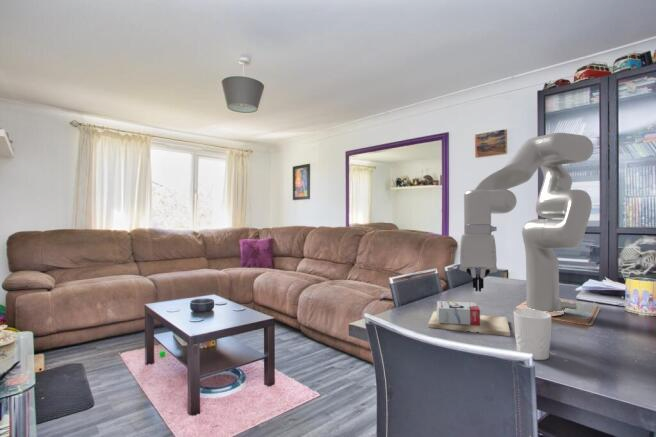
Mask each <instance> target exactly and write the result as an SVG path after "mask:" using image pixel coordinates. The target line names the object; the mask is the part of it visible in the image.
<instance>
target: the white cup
mask: <svg viewBox="0 0 656 437" xmlns="http://www.w3.org/2000/svg"><path fill="white" fill-rule="evenodd" d="M552 317H553V316H551V315H550V314H549V313H546V312H543V311H539V310H532V309H521V308H520V309H519V308H518V309H515V310H514V311H513V321H514V336H515V344H516V352H517V351H520V352H527V353H532V354H533V356H534V359H533V360H535V361H536V360H538V361H543V360H548V359H549V358H550V347H551V335H552Z"/></svg>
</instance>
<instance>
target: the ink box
mask: <svg viewBox="0 0 656 437" xmlns="http://www.w3.org/2000/svg"><path fill="white" fill-rule="evenodd" d="M436 311H437V319H438V323H445V324H461V325H478V326H480V315H481V310H480V307H478V305H477V304H476V302H472V301H471V302H470V301H469V302H468V301H466V302H465V301H444V300H443V301H441V300H437V301H436Z"/></svg>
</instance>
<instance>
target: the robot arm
mask: <svg viewBox="0 0 656 437" xmlns="http://www.w3.org/2000/svg"><path fill="white" fill-rule="evenodd" d="M594 149H595V148H594V143H593V142H592V140H591V138H589V137H588V136H586V135H582V134H575V133H569V132H568V133H567V132H554V133H548V134H544V135H540V136H534V137H532V138H529V139H527V140H525V141H524V142H523V143H522V145H521V146H520V147H519V148H518V150H517V151H516V152H515V154H513V156H512V157H511V158H510V159H509V161H508V162H507V163H506V164H505V165H504V166H502V167H500V168H498V169H496V171H494V172H492V173H491V174H489V175H488V176H486V177H485V178H483V179H482V180H481V181H480V182H479V183H478V184H477V186H475V187H474V189H471V190H467V191H465V192H464V195H463V212H464V214H463V216H464V217H463V218H464V219H463V220H464V221H463V222H464V228H463V229H464V233H463V234H461V239H460V247H459V248H460V249H459V268H458V270H459V271H461V272H466V273H467V274H468V275H470V277H471V278H472V288H473V289H475V292H482V289H484V281H485V280H484V278H485V277H486V276H487V275H489V274H492V273H498V267H497V246H496V245H497V244H496V239H495V236H494V234H492V233H493V232H497V230H498V229H497V226H493V225H492V214H494V215H495V214H500V215H501V214H508V213H510V212H512V211H513V210H514V208H515V207H516V206H517V196H516V194H515V193H514V192H512V191H511V190H509V189H511V188H512V189H513V188H515V187H517V186H520V185H522V184H524V183H527V182H528V181H530V180H531V179H532V177H533V176H534V175H535V173H536V171H538V169H539V168H540V169H541V172H542V176H543V181H542V185H541V188H540V191H539V194H538V197H537V201H536V205H535V213H536V214H537V215H538V216H540V217H541V218H539V219H538V218H537V219H531V220H528V221H527V222H526V223H524V225H523V227H522V231H521V234H522V241H523V244H524V251H525V281H526V282H525V283H526V284H525V286H526V287H525V292H526V295H525V296H526V300H525V301H526V303H524V304H522V305H527V307H528V308H531V309H535V310H539V311H548V312H553V311H562V310H563V311H565V309H569V310H577V308H578V307H577V303H575V302H569V301H562V300H561V299H560V271H559V267H560V265H559V259H558V256H557V254H556V252H555V250H553V249H563V250H574V249H576V248H578V247H579V246H580V245H581V244H582V241H583V239H584V236H585V232H586V231H587V227H588V224H589V220H590V216H591V212H592V208H593V206H592V205H593V204H592V199H591V198H592V197H591V196H590V194H589V193H588V192H587V191H585V190H582V189H577V188H575V189H571V188H572V186H573V178H572V176H571V174H570V173H569V172H568V171H567V170H566V169H565V168H564V166H563V165H568V164H569V165H570V164H576V163H583V162H585V161H588V160H589V159H590V158H591V156H593V153H594ZM476 269H480V274H479V275H477V274H476V273H477V272H476Z"/></svg>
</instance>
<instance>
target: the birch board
mask: <svg viewBox="0 0 656 437" xmlns="http://www.w3.org/2000/svg"><path fill="white" fill-rule="evenodd" d="M428 328H430V329H431V328H432V329H442V330H450V331H460V332H467V331H470V332H469V333H476V332H479V334H486V335H495V336H505V337H511V330H510V326H509V323H508V318H507V317H505V316H493V315H483V314H480V326H478V325H461V324H445V323H438V319H437V310H433V312H432V314H431V317H430V319H429V321H428Z"/></svg>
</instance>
